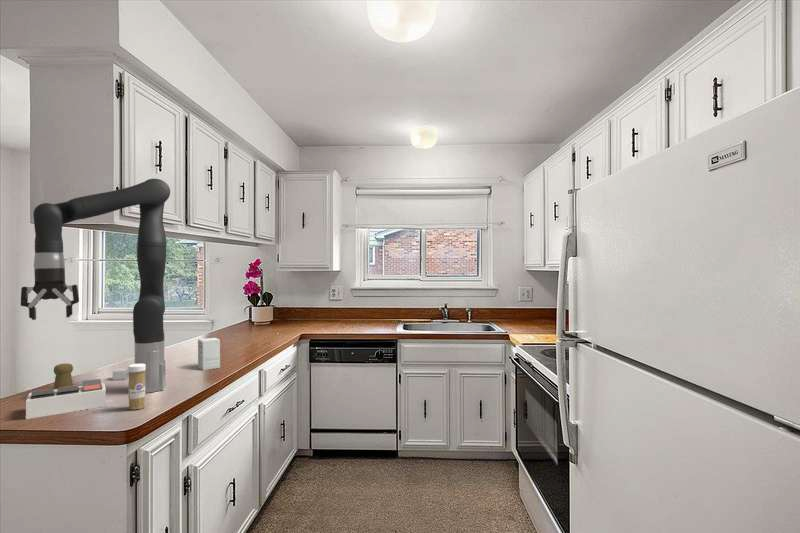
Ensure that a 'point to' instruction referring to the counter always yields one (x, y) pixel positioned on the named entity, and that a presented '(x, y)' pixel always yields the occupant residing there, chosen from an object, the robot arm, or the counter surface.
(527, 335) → the counter surface
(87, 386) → the switch
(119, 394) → the counter surface
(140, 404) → the sprinkles bottle
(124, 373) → the usb wall charger
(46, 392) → the switch
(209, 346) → the supplement box
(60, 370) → the cork
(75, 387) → the switch middle
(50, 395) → the white switch panel
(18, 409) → the counter surface
